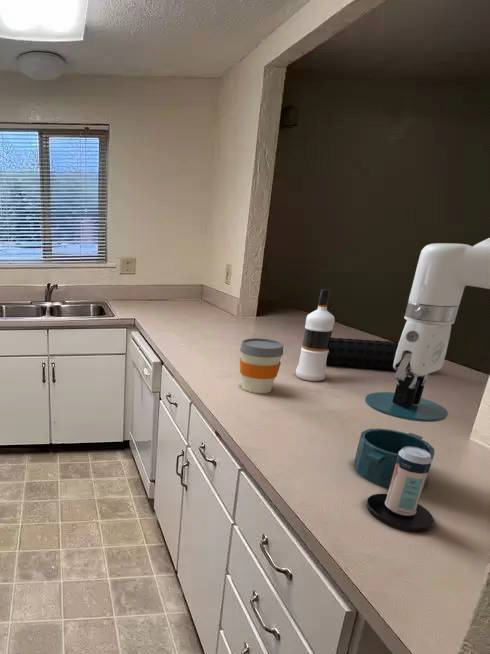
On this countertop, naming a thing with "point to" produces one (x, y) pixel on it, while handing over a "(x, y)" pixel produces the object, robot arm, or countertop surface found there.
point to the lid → (416, 412)
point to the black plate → (407, 523)
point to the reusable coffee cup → (259, 364)
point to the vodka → (316, 342)
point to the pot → (384, 453)
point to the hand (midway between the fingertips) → (405, 402)
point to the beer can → (408, 480)
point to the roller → (362, 353)
